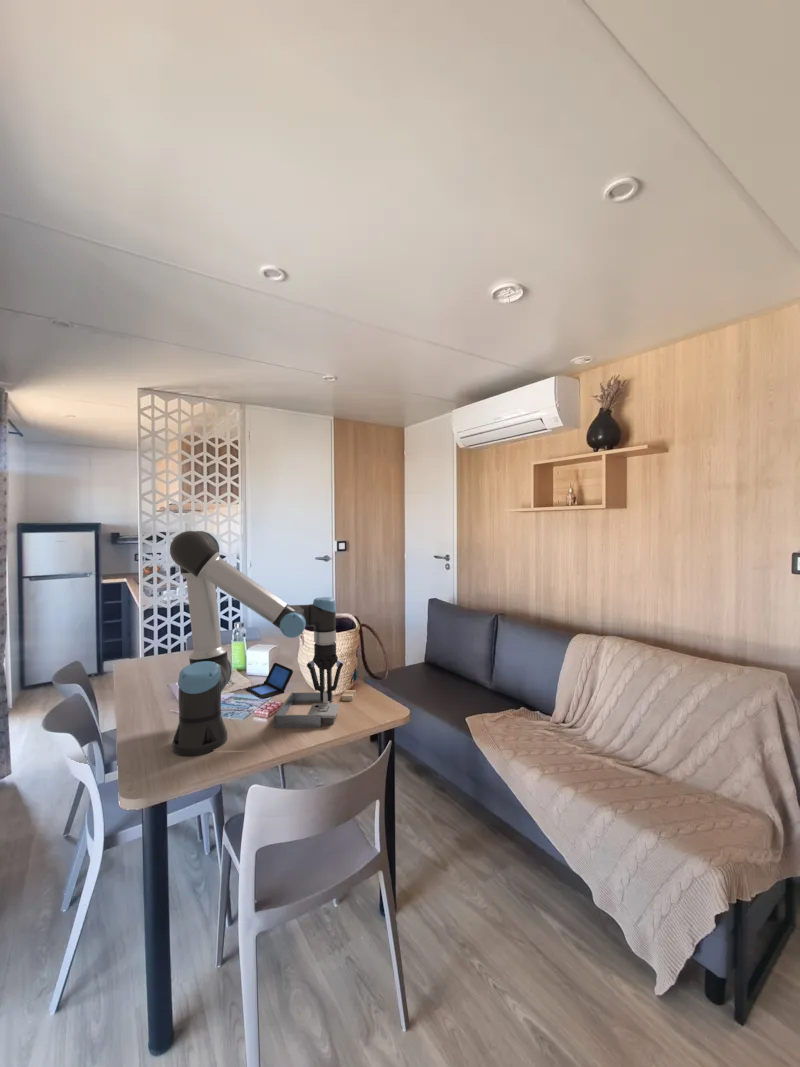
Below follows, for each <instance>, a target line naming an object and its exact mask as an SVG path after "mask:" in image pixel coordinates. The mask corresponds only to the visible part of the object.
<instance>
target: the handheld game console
mask: <svg viewBox="0 0 800 1067" xmlns="http://www.w3.org/2000/svg"><path fill="white" fill-rule="evenodd" d="M293 673H294V670H293V669H291V668H289V667H287V666H284V665H282V664H280V663H278V662H275V663H273V665H272V666H271V668H270V670H269V672H268V674H267V676H266V678H265V680H264V681H263V683H259V684H256V685H255V684H254V685H250V686H247V687H248V688H247V687H246V688H245V690H246V689H247V690H248V691H247V690H246V691H247V692H249V693H250V692H251V694H252V693H253V695H254V694H255V695H254V696H256V695H257V696H256V697H257V698H259V697H260V698H259V699H261V698H262V700H264V699H269V698H272V697H276V696H279V695H281V694H285V690H286V688H287V686H288V684H289V683H290V680H291V678H292V676H293Z"/></svg>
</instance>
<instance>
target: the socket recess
mask: <svg viewBox="0 0 800 1067" xmlns="http://www.w3.org/2000/svg"><path fill="white" fill-rule="evenodd" d="M333 693H334V692H332V699H331V701H329V703H333V700H334V699H333V697H334V696H333ZM294 703H323V701H321V700H320V692H291V693H290V694H289V696H288V697H287V698H286V699H285V701H284V702H283V703H282V705H281V706H280V707H279V709H278V710H277V711H276V712H275V713H274V715H273V728H274V729H289V728H292V729H293V728H294V729H295V728H296V729H297V728H299V729H300V728H301V729H302V728H303V729H304V728H305V729H306V728H322V725H321V715H308V714H287V713H288V712H289V710H290V708H292V706H293V704H294Z"/></svg>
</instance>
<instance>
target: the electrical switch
mask: <svg viewBox="0 0 800 1067" xmlns="http://www.w3.org/2000/svg"><path fill="white" fill-rule="evenodd" d="M339 708H340V704H339V703H336V702H329V703H323V702H317V703H312V704H311V707H310V709H309V710H308V712H307V715H321V726H323V725H324V726H325V725H327V726H329V725H334V724H335V721H336V720H337V717H338V711H339Z"/></svg>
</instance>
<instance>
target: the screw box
mask: <svg viewBox="0 0 800 1067" xmlns="http://www.w3.org/2000/svg"><path fill="white" fill-rule="evenodd" d="M356 692H357V690H356V689H355V690H354V689H352V690H351V689H349V690H348V689H345V690H344V692H343V693H342V694H341V701H342V702H343V701H346V702H350V701H351V702H352V701H354V699H355V697H356V695H357V693H356Z"/></svg>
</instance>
